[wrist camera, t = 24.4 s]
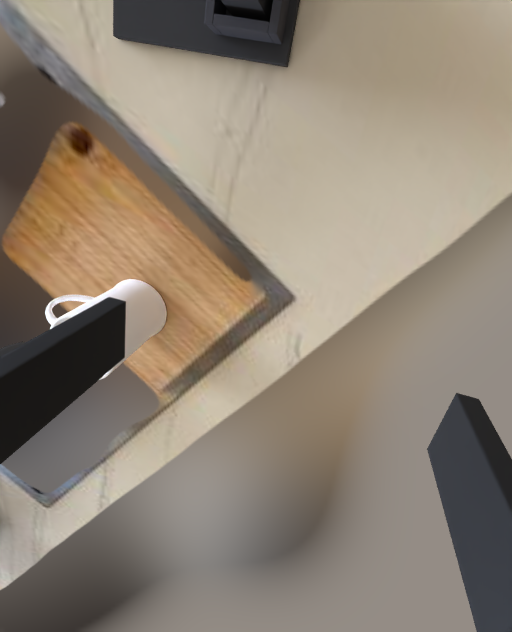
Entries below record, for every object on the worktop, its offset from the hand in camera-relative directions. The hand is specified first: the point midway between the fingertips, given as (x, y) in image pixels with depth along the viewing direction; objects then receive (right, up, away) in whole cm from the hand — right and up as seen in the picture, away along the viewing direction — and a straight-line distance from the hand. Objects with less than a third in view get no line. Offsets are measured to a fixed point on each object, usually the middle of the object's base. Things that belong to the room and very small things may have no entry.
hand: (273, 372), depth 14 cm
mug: (-18, +4, +35) cm, 40 cm away
